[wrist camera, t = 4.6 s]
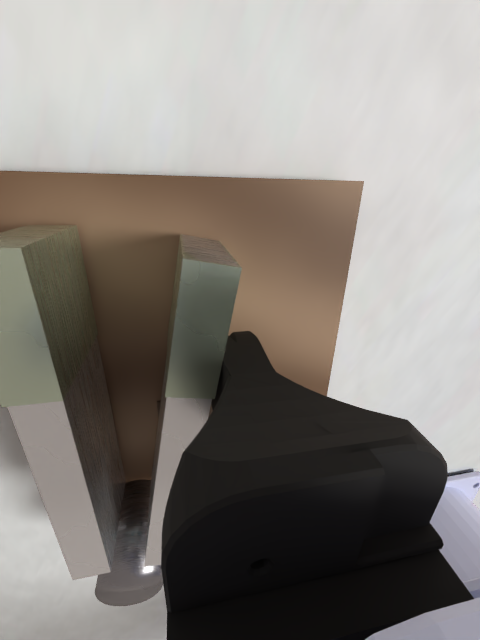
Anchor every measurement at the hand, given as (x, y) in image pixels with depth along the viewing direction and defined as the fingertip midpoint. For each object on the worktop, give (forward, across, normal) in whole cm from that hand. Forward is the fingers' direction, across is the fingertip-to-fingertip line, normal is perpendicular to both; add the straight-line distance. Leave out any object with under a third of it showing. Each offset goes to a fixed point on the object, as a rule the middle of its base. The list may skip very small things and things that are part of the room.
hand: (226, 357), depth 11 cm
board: (+2, +1, +2) cm, 3 cm away
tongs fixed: (+1, +4, +3) cm, 5 cm away
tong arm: (+1, +2, +1) cm, 2 cm away
